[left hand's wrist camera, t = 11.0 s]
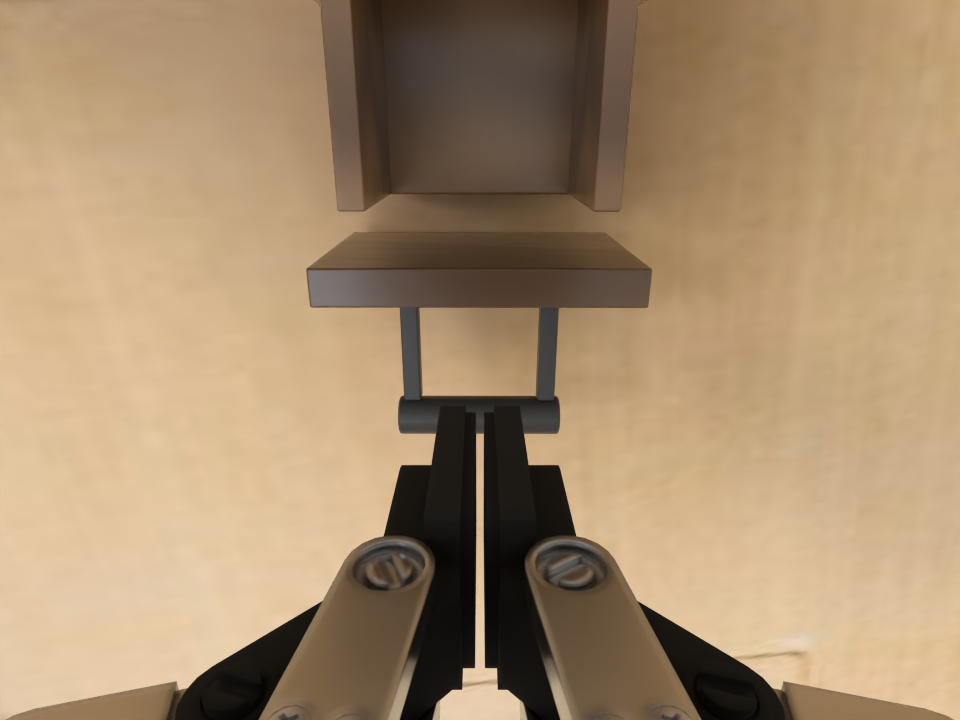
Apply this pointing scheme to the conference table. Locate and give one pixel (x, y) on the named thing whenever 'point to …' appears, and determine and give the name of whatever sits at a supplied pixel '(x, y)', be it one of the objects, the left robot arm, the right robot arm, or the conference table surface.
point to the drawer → (479, 166)
